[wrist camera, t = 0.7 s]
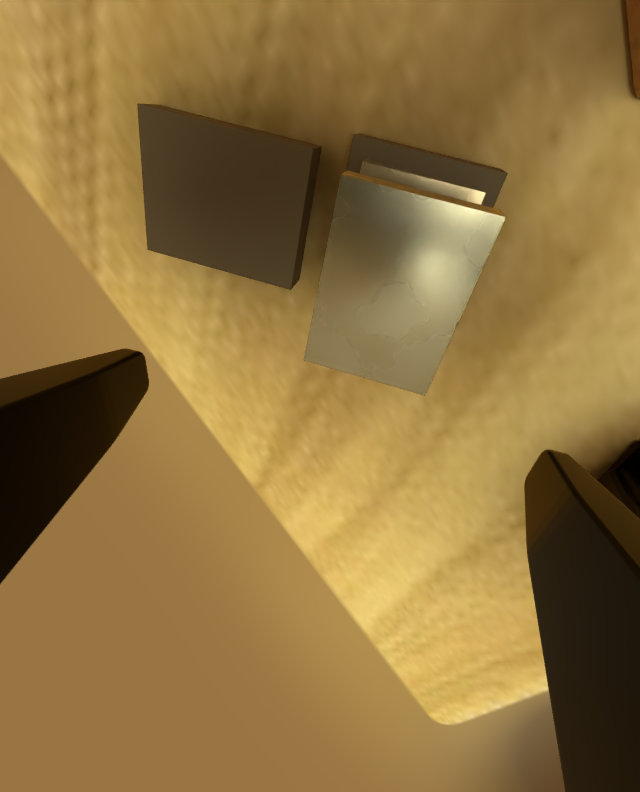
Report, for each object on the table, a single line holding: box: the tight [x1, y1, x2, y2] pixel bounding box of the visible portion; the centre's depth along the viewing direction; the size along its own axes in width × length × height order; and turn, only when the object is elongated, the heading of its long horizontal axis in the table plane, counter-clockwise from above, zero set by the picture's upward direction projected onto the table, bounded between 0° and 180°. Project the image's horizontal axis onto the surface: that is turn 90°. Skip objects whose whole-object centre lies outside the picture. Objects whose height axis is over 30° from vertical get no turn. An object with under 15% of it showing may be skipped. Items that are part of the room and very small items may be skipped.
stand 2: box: [347, 134, 508, 208], centre depth 17 cm, size 6×7×2 cm
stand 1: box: [137, 104, 321, 290], centre depth 18 cm, size 7×6×2 cm
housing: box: [304, 159, 506, 396], centre depth 14 cm, size 4×6×6 cm
